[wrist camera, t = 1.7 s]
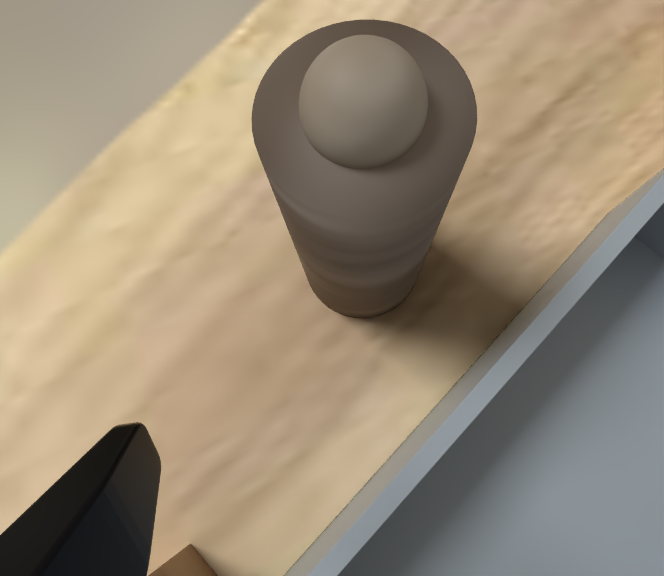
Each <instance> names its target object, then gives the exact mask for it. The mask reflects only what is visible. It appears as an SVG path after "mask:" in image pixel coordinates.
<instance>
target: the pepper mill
mask: <svg viewBox="0 0 664 576" xmlns="http://www.w3.org/2000/svg"><path fill="white" fill-rule="evenodd" d="M476 125H477V106H476V101H475V95H474V92H473V89H472V86H471V83H470V81H469V79H468V77H467V75H466V73H465V71H464V69H463V68H462V67H461V65H460V64H459V62H458V61H457V60H456V59H455V57H454V56H453V55H452V54H451V53H450V52H449V51H448V50H447V49H446V48H444V47H443V46H442V45H441V44H440V43H438V42H437V41H436V40H434V39H432V38H431V37H429V36H428V35H426V34H424V33H422V32H420V31H418V30H416V29H413V28H411V27H408V26H405V25H402V24H398V23H393V22H388V21H380V20H354V21H345V22H341V23H336V24H332V25H329V26H326V27H323V28H320V29H318V30H316V31H313V32H311V33H309V34H307V35H305V36H304V37H302V38H301V39H299V40H297V41H296V42H294V43H293V44H292V45H291V46H289V47H288V48H287V49H285V50H284V51H283V52H282V53H281V54H280V55H279V56H278V57H277V58H276V59H275V61H274V62H273V63H272V65H271V66H270V67H269V69H268V70H267V72H266V73H265V75H264V77H263V78H262V80H261V82H260V85H259V87H258V90H257V92H256V95H255V99H254V103H253V110H252V132H253V137H254V142H255V146H256V148H257V151H258V154H259V157H260V159H261V162H262V164H263V167H264V169H265V172H266V174H267V177H268V180H269V182H270V185H271V187H272V190H273V192H274V195H275V197H276V200H277V202H278V205H279V207H280V210H281V213H282V215H283V218H284V220H285V223H286V225H287V228H288V230H289V233H290V235H291V238H292V240H293V243H294V246H295V248H296V251H297V253H298V256H299V258H300V261H301V263H302V266H303V268H304V271H305V273H306V276H307V279H308V281H309V284H310V286H311V288H312V290H313V291H314V293H315V294H316V296H317V297H318V298H319V299H320V300H321V301H322V302H323V303H324V304H325V305H326V306H327V307H329V308H330V309H332V310H334V311H336V312H338V313H340V314H343V315H346V316H350V317H356V318H367V317H374V316H378V315H381V314H384V313H386V312H388V311H390V310H392V309H394V308H395V307H396V306H398V305H399V304H400V303H401V302H402V301H403V300H404V299H405V298H406V297H407V296H408V294H409V293H410V291H411V290H412V288H413V286H414V284H415V281H416V279H417V276H418V274H419V272H420V269H421V267H422V264H423V262H424V260H425V257H426V255H427V252H428V250H429V248H430V245H431V243H432V240H433V238H434V236H435V233H436V231H437V228H438V226H439V224H440V221H441V219H442V216H443V214H444V212H445V209H446V207H447V204H448V202H449V200H450V197H451V195H452V193H453V190H454V188H455V185H456V183H457V181H458V178H459V176H460V173H461V171H462V169H463V166H464V164H465V161H466V159H467V157H468V154H469V152H470V149H471V147H472V144H473V140H474V137H475V133H476Z"/></svg>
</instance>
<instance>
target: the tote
mask: <svg viewBox="0 0 664 576" xmlns="http://www.w3.org/2000/svg"><path fill="white" fill-rule="evenodd" d="M284 576H664V168H663V169H662V170H661V171H660V172H658V173H657V174H656V175H655V176H654V177H652V178H651V179H650V180H649V181H647V182H646V183H645V184H644V185H642V186H641V187H640V188H639V189H637V190H636V191H635V192H634V193H633V194H631V195H630V196H629V197H628V198H626V199H625V200H624V201H623V202H621V203H620V204H619V205H618V206H616V207H615V208H614V209H613V210H611V211H610V212H609V213H608V214H607V215H606V216H605V217H604V219H603V220H602V221H601V222H600V223H599V224H598V225H597V226H596V227H595V229H594V230H593V231H592V232H591V233H590V234H589V235H588V236H587V238H586V239H585V240H584V241H583V242H582V243H581V244H580V245H579V246H578V248H577V249H576V250H575V251H574V252H573V253H572V254H571V255H570V256H569V258H568V259H567V260H566V261H565V262H564V263H563V264H562V265H561V267H560V268H559V269H558V270H557V271H556V272H555V273H554V274H553V275H552V277H551V278H550V279H549V280H548V281H547V282H546V283H545V284H544V286H543V287H542V288H541V289H540V290H539V291H538V292H537V293H536V294H535V296H534V297H533V298H532V299H531V300H530V301H529V302H528V303H527V305H526V306H525V307H524V308H523V309H522V310H521V311H520V312H519V313H518V315H517V316H516V317H515V318H514V319H513V320H512V321H511V322H510V324H509V325H508V326H507V327H506V328H505V329H504V330H503V331H502V332H501V334H500V335H499V336H498V337H497V338H496V339H495V340H494V341H493V342H492V344H491V345H490V346H489V347H488V348H487V349H486V350H485V351H484V353H483V354H482V355H481V356H480V357H479V358H478V359H477V360H476V361H475V363H474V364H473V365H472V366H471V367H470V368H469V369H468V370H467V372H466V373H465V374H464V375H463V376H462V377H461V378H460V379H459V380H458V382H457V383H456V384H455V385H454V386H453V387H452V388H451V389H450V391H449V392H448V393H447V394H446V395H445V396H444V397H443V398H442V399H441V401H440V402H439V403H438V404H437V405H436V406H435V407H434V408H433V409H432V411H431V412H430V413H429V414H428V415H427V416H426V417H425V418H424V420H423V421H422V422H421V423H420V424H419V425H418V426H417V427H416V428H415V430H414V431H413V432H412V433H411V434H410V435H409V436H408V437H407V439H406V440H405V441H404V442H403V443H402V444H401V445H400V446H399V447H398V449H397V450H396V451H395V452H394V453H393V454H392V455H391V456H390V458H389V459H388V460H387V461H386V462H385V463H384V464H383V465H382V466H381V468H380V469H379V470H378V471H377V472H376V473H375V474H374V475H373V477H372V478H371V479H370V480H369V481H368V482H367V483H366V484H365V485H364V487H363V488H362V489H361V490H360V491H359V492H358V493H357V494H356V495H355V497H354V498H353V499H352V500H351V501H350V502H349V503H348V504H347V506H346V507H345V508H344V509H343V510H342V511H341V512H340V513H339V514H338V516H337V517H336V518H335V519H334V520H333V521H332V522H331V523H330V525H329V526H328V527H327V528H326V529H325V530H324V531H323V532H322V533H321V535H320V536H319V537H318V538H317V539H316V540H315V541H314V542H313V544H312V545H311V546H310V547H309V548H308V549H307V550H306V551H305V552H304V554H303V555H302V556H301V557H300V558H299V559H298V560H297V561H296V563H295V564H294V565H293V566H292V567H291V568H290V569H289V570H288V571H287V573H286V574H285V575H284Z"/></svg>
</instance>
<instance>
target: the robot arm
mask: <svg viewBox="0 0 664 576" xmlns="http://www.w3.org/2000/svg"><path fill="white" fill-rule="evenodd" d="M160 474H161V461H160V457H159V454H158V452H157V450H156V448H155V446H154V443H153V441H152V439H151V437H150V435H149V433H148V431H147V429H146V427H145V426H144V425H143V424H142V423H138V422H136V423H129V424H122V425H118V426H115V427H113V428H112V429H111V430H110V431H109V432H108V433H107V434H106V435H105V436H104V437H103V438H102V439H100V440H99V441H98V442H97V443H96V444H95V445H94V446H93V447H92V448H91V449H90V450H89V451H88V452H87V453H86V454H85V455H84V456H83V457H82V458H81V459H80V460H78V461H77V462H76V463H75V464H74V465H73V466H72V467H71V468H70V469H69V470H68V471H67V472H66V473H65V474H64V475H63V476H62V477H61V478H60V479H59V480H58V481H56V482H55V483H54V484H53V485H52V486H51V487H50V488H49V489H48V490H47V491H46V492H45V493H44V494H43V495H42V496H41V497H40V498H39V499H38V500H37V501H36V502H34V503H33V504H32V505H31V506H30V507H29V508H28V509H27V510H26V511H25V512H24V513H23V514H22V515H21V516H20V517H19V518H18V519H17V520H16V521H15V522H14V523H12V524H11V525H10V526H9V527H8V528H7V529H6V530H5V531H4V532H3V533H2V534H1V535H0V576H146V575H147V571H148V566H149V559H150V553H151V545H152V537H153V529H154V522H155V514H156V506H157V498H158V490H159V482H160Z"/></svg>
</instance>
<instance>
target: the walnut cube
mask: <svg viewBox="0 0 664 576" xmlns="http://www.w3.org/2000/svg"><path fill="white" fill-rule="evenodd" d="M149 576H217V574H216V573H215V572H214V571H213V570H212V569H211V567H210V566H209V565H208V564H207V563H206V561H205V560H204V559H203V558H202V557H201V555H200V554H199V553H198V552H197V551H196V549H195V548H194V547H193V546H192V545H191V544H189V545H188V546H187V547H185V548H184V549H183V550H182V551H180V552H179V553H178V554H176V555H175V556H174V557H172V558H171V559H170V560H168V561H167V562H166V563H164V564H163V565H162V566H161V567H159V568H158V569H157V570H155V571H154V572H153V573H151V574H150V575H149Z"/></svg>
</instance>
